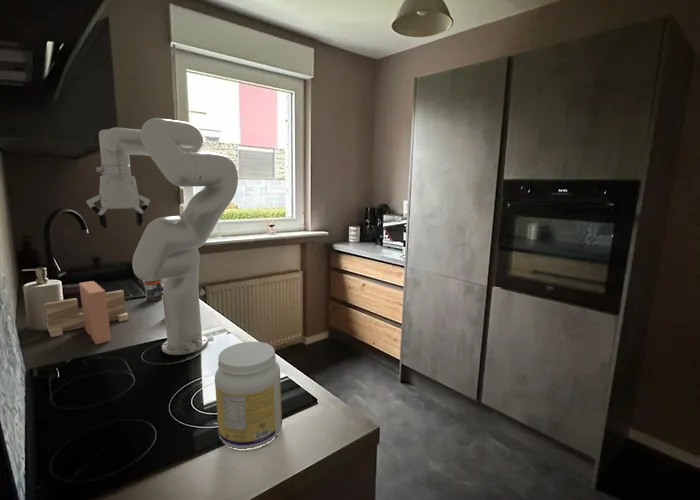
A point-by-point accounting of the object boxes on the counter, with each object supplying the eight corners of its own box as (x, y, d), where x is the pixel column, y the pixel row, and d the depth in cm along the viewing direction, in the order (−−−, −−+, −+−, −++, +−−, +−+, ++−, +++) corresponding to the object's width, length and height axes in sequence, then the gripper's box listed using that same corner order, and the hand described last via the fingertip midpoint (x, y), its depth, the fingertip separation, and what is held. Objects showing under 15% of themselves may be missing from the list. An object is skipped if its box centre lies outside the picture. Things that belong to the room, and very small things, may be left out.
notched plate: (111, 340, 118) (105, 290, 115) (96, 344, 115) (89, 293, 112) (99, 326, 129) (93, 280, 126) (85, 329, 126) (79, 283, 123)
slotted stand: (129, 319, 135) (126, 292, 133) (51, 337, 120) (46, 307, 118) (122, 314, 141) (119, 287, 139) (47, 330, 126) (43, 301, 124)
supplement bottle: (154, 297, 161) (151, 271, 159) (165, 298, 159) (163, 272, 157) (142, 301, 156) (140, 274, 153) (154, 302, 154) (151, 275, 152)
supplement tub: (237, 410, 82) (232, 337, 79) (291, 417, 80) (288, 341, 77) (205, 449, 70) (199, 365, 67) (268, 458, 68) (264, 371, 65)
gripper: (84, 171, 109) (91, 230, 113) (150, 172, 121) (154, 225, 124) (81, 170, 115) (87, 227, 118) (144, 172, 126) (148, 223, 129)
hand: (122, 226), depth 121 cm, fingers open, 9 cm apart
